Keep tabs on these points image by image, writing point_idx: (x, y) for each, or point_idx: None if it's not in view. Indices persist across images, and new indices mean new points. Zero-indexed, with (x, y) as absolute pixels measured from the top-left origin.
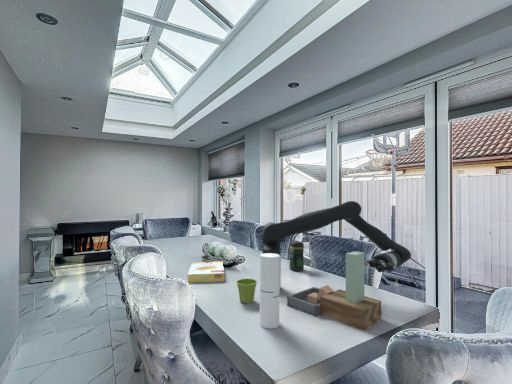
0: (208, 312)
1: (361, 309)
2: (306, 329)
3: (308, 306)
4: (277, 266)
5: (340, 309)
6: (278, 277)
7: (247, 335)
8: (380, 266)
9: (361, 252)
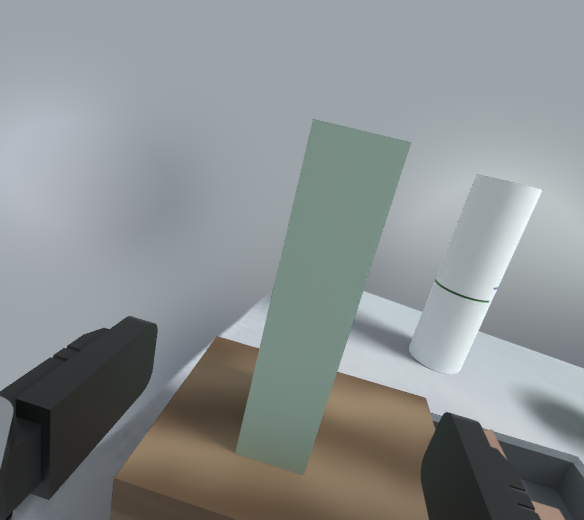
0: (561, 362)
1: (228, 341)
2: (353, 360)
3: None
4: (467, 203)
5: None
6: (457, 236)
7: (412, 319)
8: (110, 332)
9: (338, 125)
